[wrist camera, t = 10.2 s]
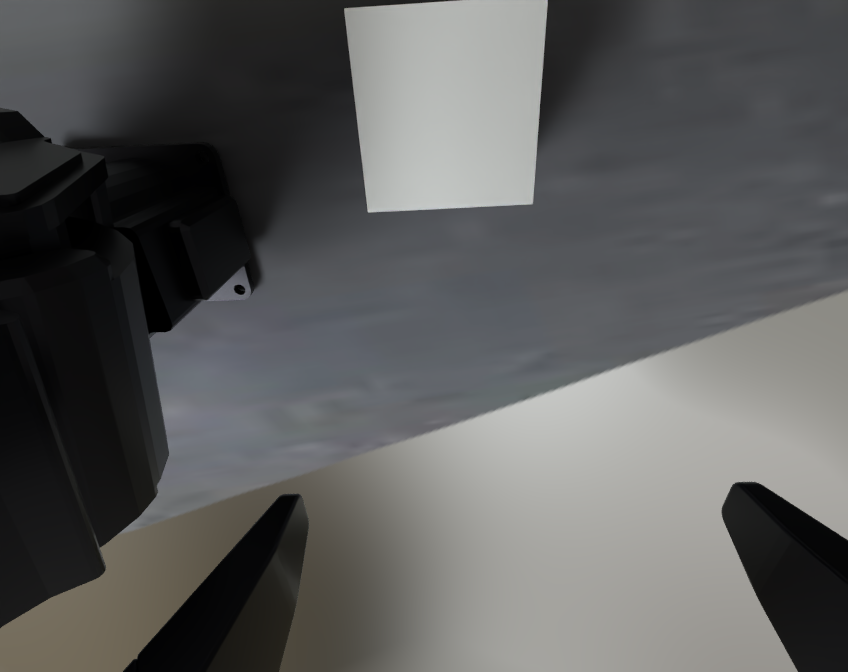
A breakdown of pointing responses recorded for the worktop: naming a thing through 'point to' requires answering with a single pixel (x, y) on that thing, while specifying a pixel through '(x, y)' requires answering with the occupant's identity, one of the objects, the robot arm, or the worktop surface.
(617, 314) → the worktop surface
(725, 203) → the worktop surface
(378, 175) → the grey cube
